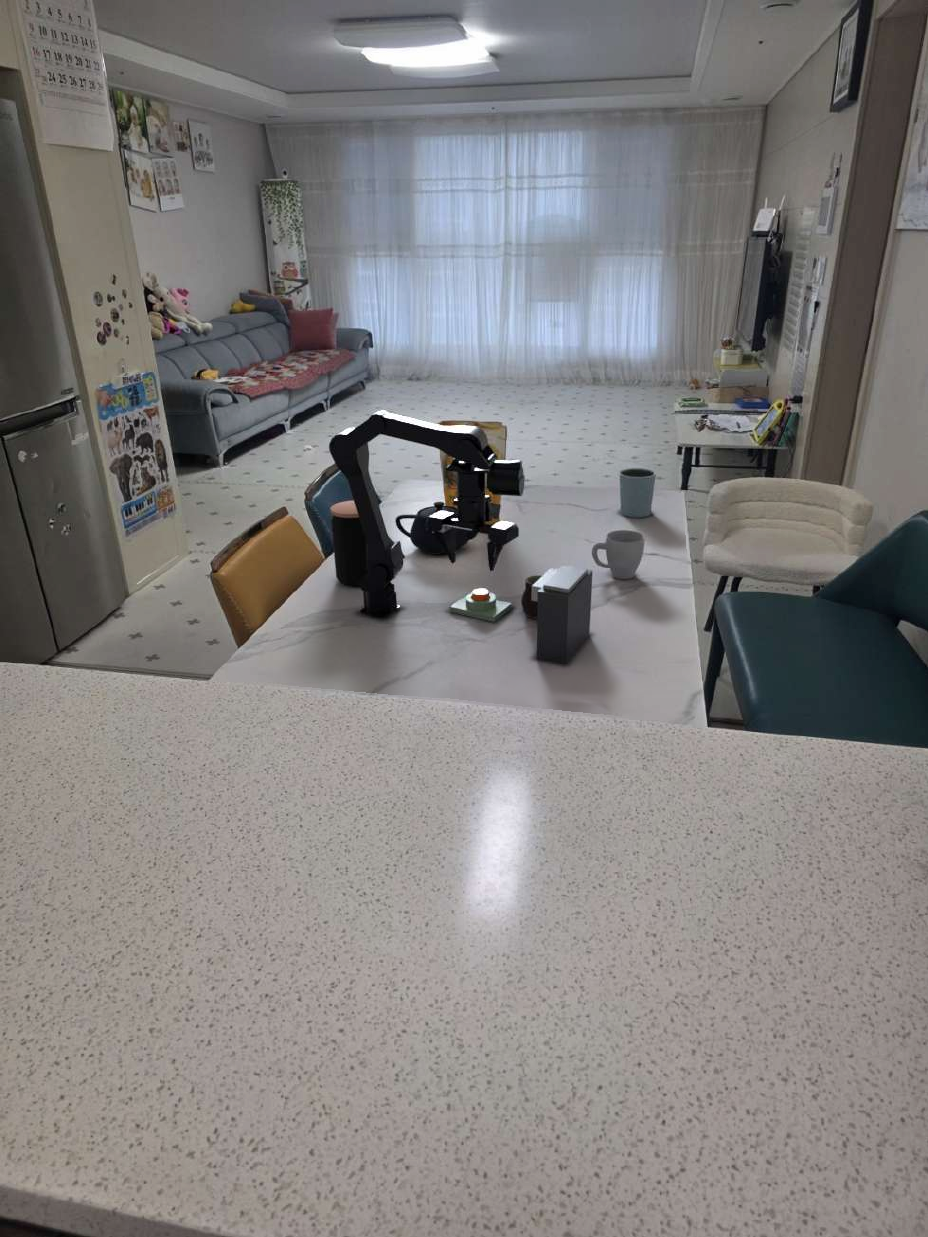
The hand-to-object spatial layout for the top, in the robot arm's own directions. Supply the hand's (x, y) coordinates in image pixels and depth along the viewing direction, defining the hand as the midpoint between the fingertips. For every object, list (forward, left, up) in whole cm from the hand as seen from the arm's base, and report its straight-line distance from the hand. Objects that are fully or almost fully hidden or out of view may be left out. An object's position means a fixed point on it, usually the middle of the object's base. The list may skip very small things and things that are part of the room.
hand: (472, 566), depth 169 cm
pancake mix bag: (-34, +57, -12) cm, 68 cm away
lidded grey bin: (+21, -2, -12) cm, 24 cm away
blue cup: (+4, +85, -12) cm, 86 cm away
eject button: (-1, +5, -9) cm, 11 cm away
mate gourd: (+11, +9, -12) cm, 19 cm away
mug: (+17, +38, -12) cm, 43 cm away
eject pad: (-1, +5, -12) cm, 13 cm away
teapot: (-29, +34, -12) cm, 46 cm away
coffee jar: (-35, +6, -12) cm, 38 cm away
